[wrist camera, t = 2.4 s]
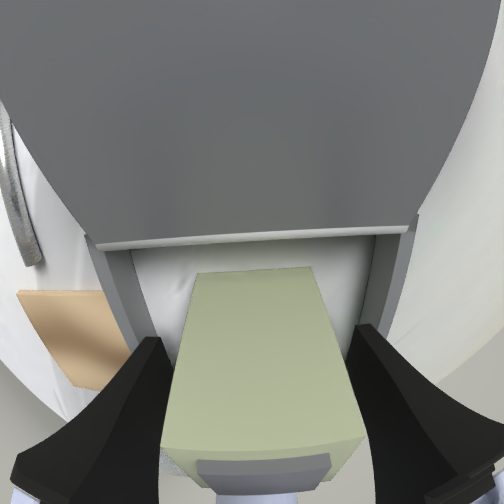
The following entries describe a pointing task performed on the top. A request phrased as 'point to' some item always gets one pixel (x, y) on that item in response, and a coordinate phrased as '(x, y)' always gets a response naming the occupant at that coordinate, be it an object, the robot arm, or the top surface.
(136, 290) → the case
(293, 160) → the lid
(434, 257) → the top surface
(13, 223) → the rod
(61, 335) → the mat
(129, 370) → the robot arm
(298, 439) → the block
